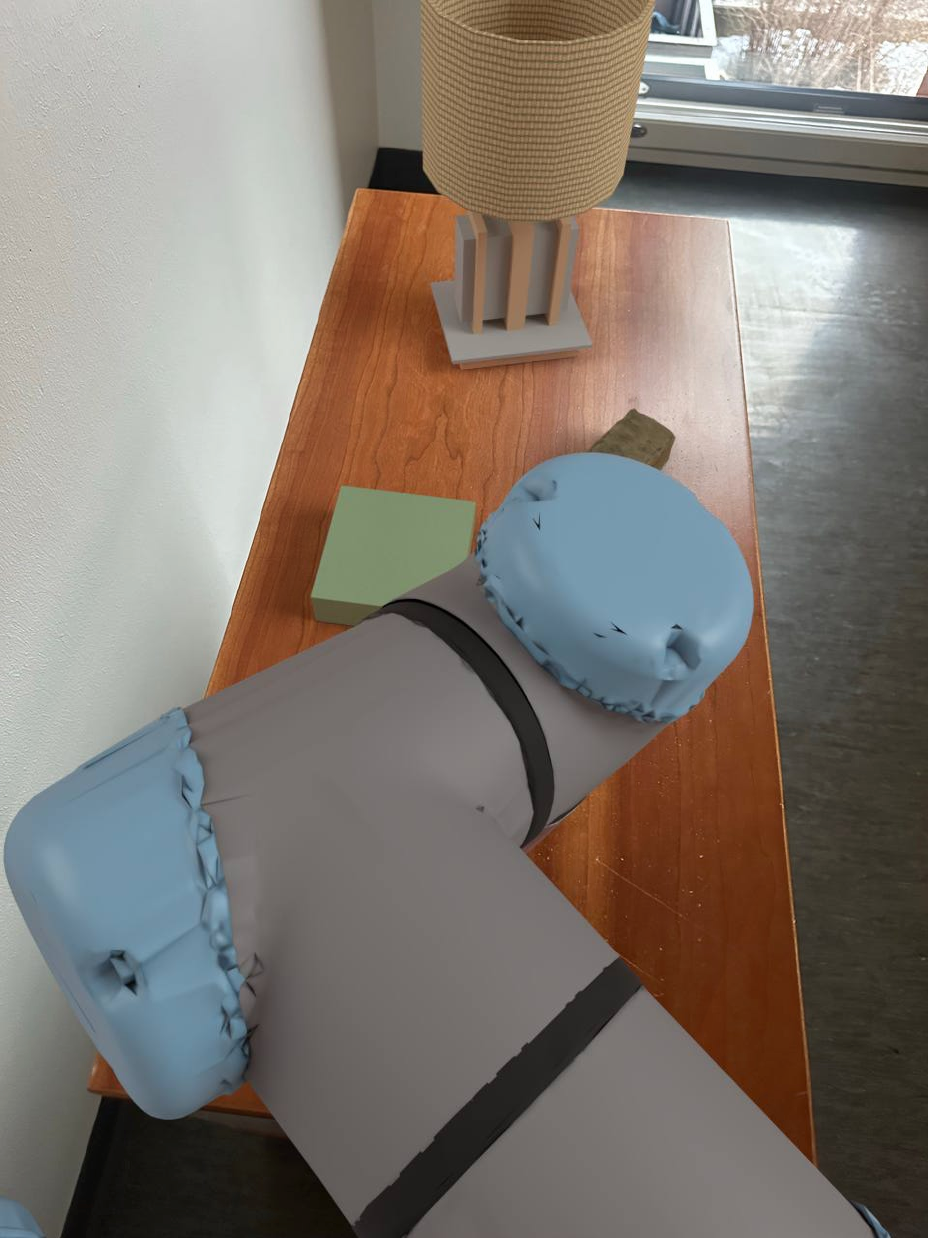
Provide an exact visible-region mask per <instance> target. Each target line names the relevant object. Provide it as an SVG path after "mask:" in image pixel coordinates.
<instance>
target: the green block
mask: <svg viewBox="0 0 928 1238" xmlns="http://www.w3.org/2000/svg"><path fill="white" fill-rule="evenodd" d="M338 491H339V492H338V496H337V499H336V501H335V505H334V511H333V513H332V517H331V520H330V524H329V528H328V531H327V534H326V535H327V536H326V538H325V539H326V540H325V543H324V545H323V550H322V554H321V557H320V561H319V564H318V569H317V572H316V576H315V579H314V583H313V587H312V590H311V593H310V600H311V605H312V609H313V615H314V619H315V622H322V623H328V624H329V623H330V624H336V625H343V626H344V625H345V626H351V627H355V626H357V624H358V623H359V622H361V621H362V619H364V618H366V617H367V616H369V615H370V614H372V613H374V612H376V611H377V610H378V609H379V608H381V607H382V606H383V605H385V604H387V603H388V602H390V601H391V600H393V599H395V598H397V597H399V596H400V595H402V594H404V593H406V592H408V591H410V590H412V589H414V588H416V587H418V586H420V585H422V584H424V583H426V582H428V581H430V580H431V579H433V578H435V577H437V576H439V575H441V574H443V573H445V572H447V571H449V570H451V569H452V568H454V567H456V566H457V565H459V564H460V563H461V562H463V561H464V560H465V559H466V558H468V557H469V556H470V555H471V551H472V545H473V538H474V532H475V525H476V524H475V521H476V508H477V507H476V506H477V501H474V500H473V501H472V500H464V499H458V498H457V499H456V498H447V497H439V496H432V495H424V494H416V493H407V492H399V491H390V490H382V489H375V488H366V487H359V486H358V487H357V486H349V485H340V488H339V490H338Z"/></svg>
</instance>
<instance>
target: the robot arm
mask: <svg viewBox="0 0 928 1238" xmlns="http://www.w3.org/2000/svg"><path fill="white" fill-rule="evenodd" d="M586 452H587V451H586ZM586 452H574V453H566V454H562V455H558V456H555V457H551V458H550V459H546V460H543V461H542V462H540V463H539V464H537V465H535V466H534V467H532V468H531V469H530V470H529V471H527V472H526V473H525V474H524V475H522V476H521V477H520V478H519V479H518V480H517V481H516V483H514V485H513V486H512V488H511V489H510V491H509V492H508V494H507V495H506V496H505V498H504V499H503V501H502V502H501V504H500V506H499V507H498V508H497V509H496V510H493V511H491V513H489V515H488V517H487V519H486V521H482V524H481V526H480V528H479V531H478V533H477V537H476V547H475V548H474V550H473V551H472V552H471V553H470V556H469V557H468V558H466V559H465V560H464V561H463V562H461V563H460V564H459V565H457V566H456V567H454V568H452V569H451V570H449V571H447V572H445V573H443V574H441V575H439V576H437V577H435V578H433V579H431V580H430V581H428V582H426V583H424V584H422V585H420V586H418V587H416V588H414V589H412V590H410V591H408V592H406V593H404V594H402V595H400V596H399V597H397V598H395V599H393V600H391V601H390V602H388V603H387V604H385V605H383V606H382V607H381V608H379V609H378V610H377V611H376V612H374V613H372V614H370V615H369V616H367V617H366V618H364V619H362V621H361V622H359V623H358V624H357V626H352V627H351V628H349V629H347V630H345V631H342V632H339V634H336V635H334V636H332V637H330V638H328V639H325V640H324V641H322V642H319V643H317V644H315V645H313V646H311V647H309V648H307V649H305V650H303V651H301V652H299V653H296V654H294V655H293V656H290V657H288V658H285V659H283V660H282V661H280V662H278V663H276V664H273V665H271V666H269V667H267V668H265V669H263V670H260V671H259V672H257V673H254V674H253V675H251V676H248V677H246V678H244V679H242V680H240V681H237V682H236V683H234V684H232V685H230V686H227V687H226V688H225V687H224V689H221V690H219V691H217V692H215V693H213V694H211V695H209V696H206V697H204V698H202V699H200V700H198V701H196V702H194V703H192V704H190V705H188V706H186V707H183V708H182V706H177V707H173V708H171V709H170V710H168V711H167V712H165V713H163V714H161V715H160V716H159V717H157V718H155V719H154V720H152V721H151V722H149V723H147V724H145V725H144V726H142V727H141V728H139V729H138V730H136V731H134V732H133V733H131V734H129V735H127V736H126V737H124V738H123V739H121V740H119V741H118V742H116V743H115V744H113V745H111V746H110V747H108V748H106V749H105V750H103V751H101V752H100V753H98V754H97V755H95V756H93V757H91V758H90V759H88V760H87V761H85V762H83V763H82V764H80V765H78V766H77V767H76V768H75V769H74V770H73V771H72V772H70V773H68V774H67V775H65V776H63V777H62V778H61V779H59V780H58V781H56V782H54V783H53V784H50V785H49V786H48V787H46V788H45V789H43V790H41V791H40V792H38V793H37V794H35V795H34V796H33V797H32V798H30V800H28V802H26V803H25V804H24V805H23V806H22V807H21V808H20V809H19V810H18V811H17V813H16V815H15V816H14V818H13V819H12V821H11V823H10V824H9V827H8V829H7V832H6V834H5V839H4V843H3V857H2V859H3V861H2V862H3V867H4V873H5V877H6V880H7V883H8V886H9V888H10V891H11V894H12V896H13V899H14V901H15V903H16V905H17V907H18V909H19V912H20V914H21V917H22V919H23V920H24V922H25V924H26V927H27V929H28V932H29V933H30V935H31V937H32V940H33V941H34V943H35V944H36V946H37V948H38V951H39V953H40V954H41V956H42V958H43V960H44V961H45V963H46V965H47V968H48V969H49V971H50V973H51V975H52V976H53V978H54V980H55V982H56V983H57V985H58V987H59V988H60V990H61V992H62V993H63V995H64V997H65V999H66V1000H67V1003H68V1004H69V1006H70V1007H71V1009H72V1011H73V1012H74V1014H75V1016H76V1017H77V1020H78V1021H79V1022H80V1024H81V1026H82V1028H83V1029H84V1030H85V1032H86V1034H87V1035H88V1037H89V1039H90V1040H91V1041H92V1044H93V1045H94V1046H95V1048H96V1050H97V1051H98V1053H99V1054H100V1055H101V1057H102V1058H103V1059H104V1060H105V1061H106V1062H107V1064H108V1065H109V1066H110V1067H111V1069H112V1071H113V1073H114V1074H115V1076H116V1079H117V1080H118V1082H119V1083H120V1085H121V1087H123V1090H124V1091H125V1092H126V1093H127V1095H128V1096H129V1098H130V1099H131V1100H132V1101H133V1103H135V1104H136V1105H137V1106H138V1107H139V1109H141V1110H142V1111H143V1112H144V1113H145V1114H147V1115H148V1116H150V1117H152V1118H155V1119H160V1120H168V1121H169V1120H172V1121H173V1120H178V1119H182V1118H185V1117H187V1116H188V1115H191V1114H193V1113H195V1112H196V1111H198V1110H199V1109H201V1108H203V1107H204V1106H206V1105H208V1104H209V1103H211V1102H213V1101H215V1100H216V1099H217V1098H219V1097H221V1096H224V1095H225V1096H232V1095H233V1094H234V1093H236V1091H238V1090H239V1089H240V1088H241V1087H242V1086H244V1085H245V1084H246V1083H248V1084H249V1086H250V1087H251V1089H252V1090H253V1091H254V1093H255V1094H256V1095H257V1096H258V1098H259V1099H260V1101H261V1102H262V1103H263V1104H264V1106H265V1108H266V1109H267V1110H268V1111H269V1113H270V1114H271V1115H272V1117H273V1118H274V1119H275V1121H276V1123H278V1125H279V1126H280V1128H281V1129H282V1130H283V1132H284V1133H285V1134H286V1136H287V1138H288V1139H289V1140H290V1141H291V1143H292V1144H293V1145H294V1147H295V1148H296V1149H297V1151H298V1152H299V1154H300V1155H301V1156H302V1158H303V1159H304V1160H305V1161H306V1163H307V1164H308V1165H309V1167H310V1169H311V1170H312V1171H313V1173H314V1174H315V1175H316V1176H317V1178H318V1180H319V1181H320V1183H321V1184H322V1185H323V1186H324V1189H326V1191H327V1192H328V1194H329V1195H330V1196H331V1198H332V1200H333V1202H334V1203H335V1204H336V1205H337V1207H338V1208H339V1209H340V1211H341V1213H342V1214H343V1215H344V1216H345V1219H346V1220H347V1221H348V1223H349V1224H350V1226H351V1228H352V1231H353V1232H354V1234H355V1235H356V1236H357V1238H891V1236H890V1234H889V1232H888V1231H887V1230H886V1229H885V1228H884V1227H882V1225H881V1223H880V1222H879V1220H878V1219H877V1218H876V1216H874V1215H873V1213H872V1212H871V1211H869V1209H868V1208H867V1207H866V1206H865V1205H864V1204H862V1203H860V1202H857V1201H854V1200H853V1199H850V1198H847V1197H845V1196H843V1195H842V1193H841V1192H840V1191H839V1190H838V1189H837V1188H836V1187H835V1186H834V1185H833V1184H832V1183H831V1181H830V1180H828V1178H826V1176H825V1175H823V1174H822V1172H821V1171H820V1170H819V1169H818V1168H817V1167H816V1166H815V1165H814V1164H813V1163H812V1162H811V1161H810V1160H809V1159H808V1158H807V1157H806V1155H804V1153H803V1152H802V1151H800V1149H799V1148H798V1147H797V1146H796V1145H795V1144H794V1143H793V1142H792V1141H791V1140H790V1139H789V1138H788V1136H787V1135H785V1133H784V1132H783V1131H782V1130H781V1128H779V1127H778V1126H777V1125H776V1124H775V1123H774V1122H773V1121H772V1120H771V1119H770V1118H769V1117H768V1115H767V1114H766V1113H765V1112H764V1111H763V1110H762V1109H761V1108H760V1107H758V1105H757V1104H756V1103H755V1102H754V1101H753V1100H752V1099H751V1098H750V1097H749V1096H748V1095H747V1094H746V1093H745V1091H744V1090H742V1088H741V1087H739V1085H738V1084H737V1083H736V1082H735V1081H734V1080H733V1079H732V1078H731V1077H730V1075H728V1073H726V1072H725V1071H724V1070H723V1069H722V1068H721V1066H720V1065H718V1063H717V1062H716V1061H715V1060H714V1059H713V1058H712V1057H711V1056H710V1055H709V1054H708V1053H707V1051H705V1050H704V1049H703V1047H702V1046H700V1044H698V1042H697V1041H696V1040H695V1039H694V1038H693V1037H692V1036H691V1035H690V1034H689V1032H687V1031H686V1029H684V1028H683V1027H682V1025H680V1023H679V1022H678V1021H677V1020H676V1019H675V1018H674V1017H673V1016H672V1015H671V1014H670V1013H669V1012H668V1011H667V1010H666V1009H665V1008H664V1006H662V1004H661V1003H660V1002H659V1001H658V1000H657V999H656V998H655V997H654V996H653V995H652V994H651V993H650V992H649V991H648V989H646V988H645V986H644V985H645V983H644V984H643V982H642V980H641V979H640V977H639V976H638V975H637V973H635V972H634V970H632V969H631V967H629V966H628V965H627V963H626V962H625V961H624V960H623V959H622V958H621V956H620V955H619V954H618V952H616V951H615V949H614V948H613V947H612V946H611V945H610V944H609V943H608V941H606V940H605V939H604V937H603V936H602V935H601V934H600V933H599V932H598V931H597V930H596V929H595V928H594V926H592V924H590V922H588V920H587V919H586V918H585V917H584V916H583V915H582V913H580V911H579V910H578V909H577V908H576V907H575V906H574V905H573V904H572V903H571V902H570V900H568V898H567V897H566V896H565V895H564V894H563V893H562V892H561V891H560V890H559V888H558V887H556V885H555V884H554V883H553V882H552V881H551V880H550V879H549V878H548V877H547V875H546V874H545V873H544V872H543V871H542V870H541V869H540V867H538V866H537V865H536V863H534V862H533V860H532V859H531V857H529V856H528V855H527V854H529V852H531V851H532V850H533V849H534V848H535V847H536V846H537V845H538V844H540V843H541V842H542V841H543V840H544V839H545V838H546V837H547V836H549V834H550V833H552V832H553V831H554V830H555V829H556V828H558V826H559V825H560V824H561V823H562V822H564V821H565V819H567V818H568V817H569V816H570V815H571V814H572V813H573V812H574V811H575V810H577V808H578V807H579V806H580V805H581V803H582V802H583V801H584V800H585V799H586V798H587V797H588V795H590V794H591V793H592V792H593V791H594V790H595V789H597V788H598V787H599V786H600V785H602V784H603V783H604V782H605V781H606V780H608V779H609V778H610V777H611V776H613V775H614V774H615V773H616V772H617V771H618V770H619V769H621V768H622V767H623V766H625V765H626V764H627V763H628V762H629V761H630V760H631V759H633V757H635V756H636V755H637V754H638V753H639V752H640V751H641V750H642V749H644V747H646V746H647V745H648V744H649V743H650V742H651V741H653V739H655V738H656V737H657V736H658V735H659V734H660V733H661V732H662V731H663V730H665V729H666V728H667V727H668V726H669V725H670V724H672V723H676V722H677V721H678V720H679V719H681V718H682V717H683V716H685V715H686V714H688V713H689V712H690V711H692V710H693V708H695V707H696V706H697V705H698V704H700V702H702V701H703V699H704V697H705V694H706V692H705V691H706V690H707V689H708V688H709V687H710V686H711V685H712V684H713V682H715V681H716V679H717V678H718V677H719V676H720V675H721V674H722V673H723V672H724V671H725V670H726V669H727V668H728V666H730V665H731V664H732V662H733V661H735V659H736V658H737V657H738V655H739V654H740V652H741V651H742V649H743V647H744V645H745V644H746V641H747V639H748V638H749V634H750V630H751V626H752V622H753V617H754V608H755V607H754V604H755V603H754V602H755V601H754V600H755V599H754V598H755V597H754V588H753V581H752V577H751V574H750V571H749V567H748V565H747V561H746V559H745V557H744V555H743V553H742V550H741V549H740V546H739V545H738V543H737V541H736V540H735V538H734V536H733V535H732V533H731V532H730V530H729V529H728V527H727V526H726V525H725V523H724V522H723V521H722V520H721V519H720V518H718V517H717V516H715V515H714V514H712V512H710V511H709V510H708V508H706V507H705V506H704V504H702V503H701V502H700V501H699V499H698V497H697V495H696V494H695V492H693V491H692V490H691V489H689V488H688V487H687V486H686V485H684V484H683V483H681V482H680V481H678V480H677V479H676V478H673V477H672V476H670V475H669V474H667V473H665V472H664V471H662V470H661V471H659V470H658V469H656V468H653V467H651V466H649V465H647V464H644V463H642V462H639V461H636V460H633V459H630V458H626V457H622V456H617V455H612V454H605V453H593V452H587V453H586ZM0 1238H47V1237H46V1236H45V1234H44V1232H43V1231H42V1229H41V1228H40V1226H39V1224H38V1223H37V1220H36V1219H35V1218H34V1216H33V1215H32V1213H31V1212H30V1210H29V1209H28V1208H27V1207H26V1206H24V1204H22V1203H21V1202H19V1201H17V1200H16V1199H13V1198H10V1197H6V1196H2V1195H0Z"/></svg>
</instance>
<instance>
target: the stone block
mask: <svg viewBox="0 0 928 1238" xmlns="http://www.w3.org/2000/svg"><path fill="white" fill-rule="evenodd" d="M676 438H677V436H675V434H674V432H673V431H672V430H670V429H669V428H668V427H666V426H665V425H664V424H661V422H659V421H658V420H656V419H655V418H652V417H650V416H649V415H646V414H644V413H641V412H638V411H637V409H636V408H632V409H629V410H628V412H627V413H626V414H625V415H624V416H623V417H622V418H621V419H619V420H617V421H616V422H615V423H614V424H613V425H612V427H610V429H608V430H607V431H606V432H605V433H604V434H603V435H602V436H601V437H600V438H599V439H598V440H596V442H595V443H594V444H593V445H592V446H590V448H589V449H588V450H587V451H585V453H587V452H593V453H605V454H612V455H617V456H622V457H626V458H630V459H633V460H636V461H639V462H642V463H644V464H647V465H649V466H651V467H653V468H656V469H658V470H659V471H661V472H662V470H663V469H664V467H665V465H666V464H667V463H668V462H669V460H670V455H671V451H672V448H673V446H674V444H675V441H676Z"/></svg>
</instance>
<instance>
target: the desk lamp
mask: <svg viewBox="0 0 928 1238" xmlns="http://www.w3.org/2000/svg"><path fill="white" fill-rule="evenodd" d="M656 1H657V0H420V26H421V27H420V28H421V29H420V30H421V33H420V35H421V36H420V38H421V40H420V41H421V108H422V109H421V112H422V113H421V114H422V116H421V117H422V118H421V119H422V120H421V121H422V123H421V124H422V171H423V172H424V174H425V175H426V177H427V179H428V180H429V181H430V183H431V184H432V186H433V187H434V189H435V191H436V192H437V193H438V194H440V195H442V196H443V197H444V198H446V199H447V200H450V202H453V203H454V204H455V205H457V206H459V207H461V208H462V209H464V210H466V211H465V212H466V214H459V215H455V232H454V233H455V234H454V235H455V240H454V241H455V242H454V279H453V280H443V281H441V280H440V281H434V282H430V288H431V291H432V295H433V299H434V303H435V306H436V309H437V313H438V317H439V322H440V324H441V328H442V332H443V336H444V339H445V342H446V346H447V351H448V354H449V357H450V361H451V364H452V365H459V369H460V371H464V370H472V369H479V368H490V367H498V366H506V365H514V364H516V365H517V364H524V363H531V362H533V363H534V362H539V361H540V362H541V361H549V360H556V359H557V360H558V359H565V358H575V357H578V351H579V350H589V349H593V342H592V339H591V337H590V334H589V332H588V329H587V327H586V324H585V322H584V320H583V319H584V318H583V317H582V314H581V312H580V309H579V307H578V305H577V302H576V299H575V297H574V294H573V292H572V290H571V288H572V280H573V276H574V270H575V269H574V268H575V263H576V262H575V261H576V254H577V249H578V248H577V247H578V241H579V235H580V227H579V224H578V222H577V220H576V218H575V216H579V215H583V214H586V213H587V212H589V211H591V210H592V209H594V208H596V207H597V206H599V205H600V204H602V203H603V202H605V201H607V200H609V199H610V198H611V197H612V196H613V194H614V192H615V191H616V189H617V187H618V185H619V184H620V182H621V180H622V179H623V177H624V173H625V169H626V168H625V167H626V163H627V162H626V161H627V156H628V152H629V145H630V140H631V135H632V130H633V124H634V119H635V115H636V114H635V113H636V108H637V102H638V98H639V92H640V87H641V81H642V77H643V71H644V66H645V60H646V54H647V50H648V44H649V39H650V32H651V27H652V23H653V18H654V11H655V6H656Z"/></svg>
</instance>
